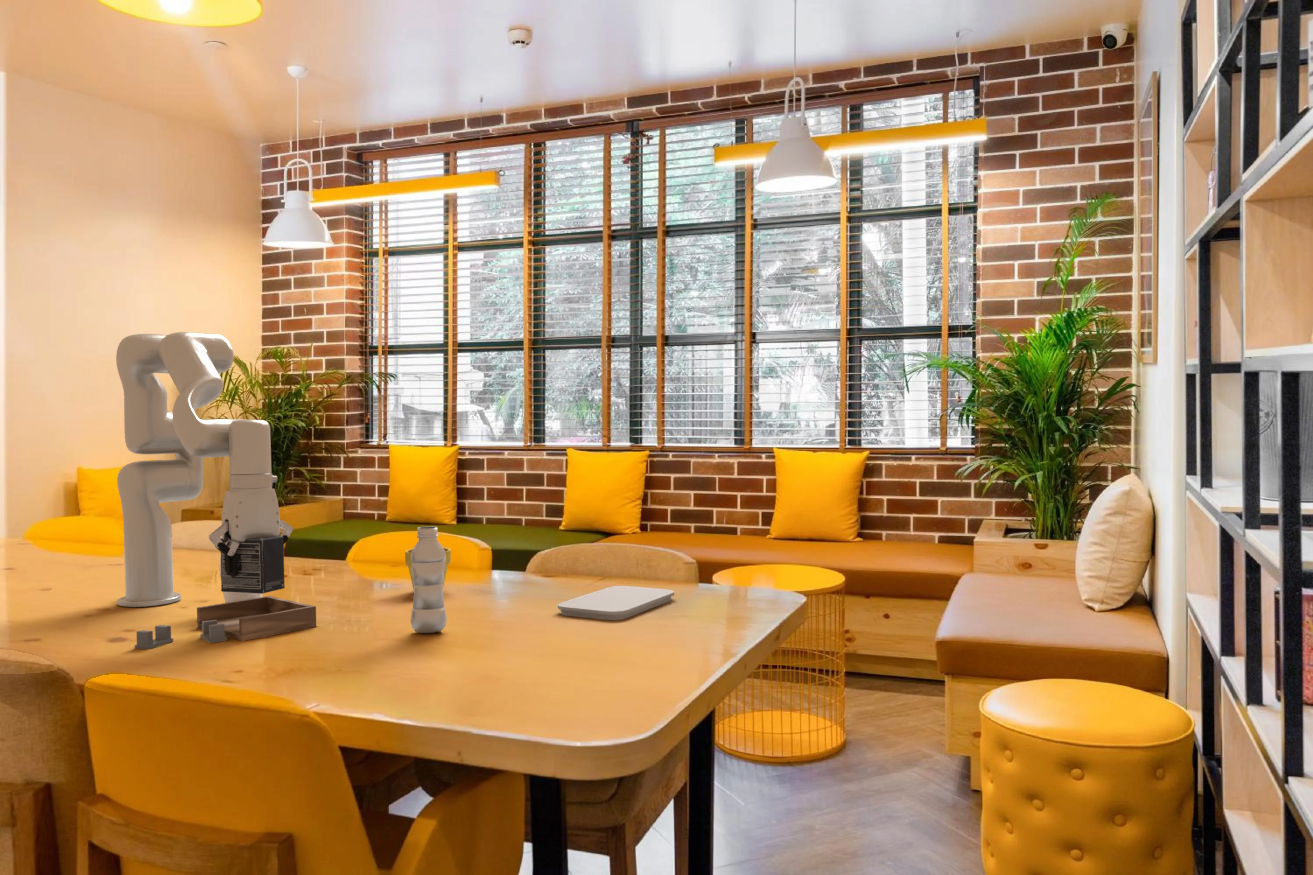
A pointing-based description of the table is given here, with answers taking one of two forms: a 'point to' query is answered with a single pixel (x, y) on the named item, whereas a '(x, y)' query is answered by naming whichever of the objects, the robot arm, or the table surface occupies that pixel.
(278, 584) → the small box
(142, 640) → the clip
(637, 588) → the tablet
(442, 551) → the plastic bottle
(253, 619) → the holder
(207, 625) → the clip
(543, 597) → the table surface
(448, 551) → the plant pot
